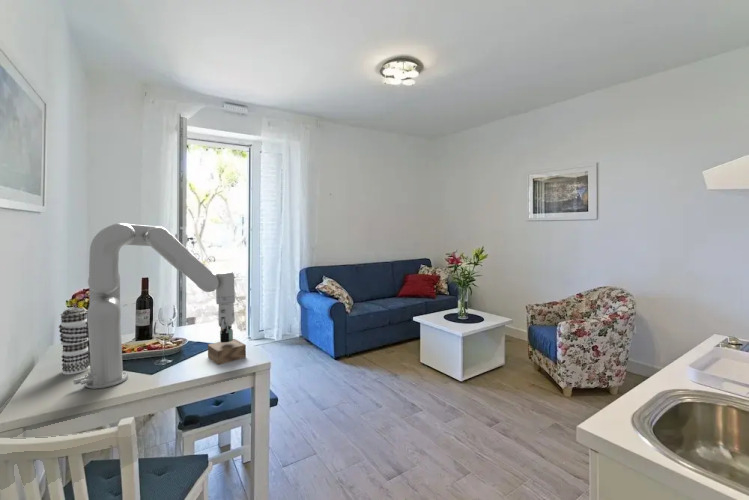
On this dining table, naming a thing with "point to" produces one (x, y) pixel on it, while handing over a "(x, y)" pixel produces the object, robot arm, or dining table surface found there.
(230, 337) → the green rounded block
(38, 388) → the dining table surface
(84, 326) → the black white patterned vase
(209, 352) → the walnut block
